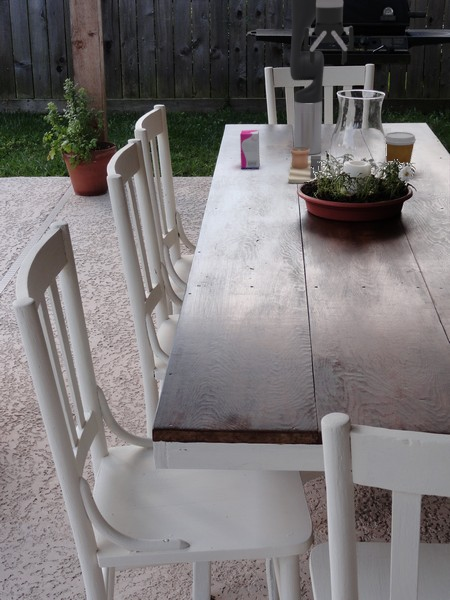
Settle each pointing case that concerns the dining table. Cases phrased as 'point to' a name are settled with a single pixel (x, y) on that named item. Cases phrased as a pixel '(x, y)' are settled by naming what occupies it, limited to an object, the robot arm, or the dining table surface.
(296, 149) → the terracotta pot
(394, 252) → the dining table surface
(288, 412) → the dining table surface
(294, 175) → the birch board
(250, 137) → the supplement box
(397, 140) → the disposable coffee cup
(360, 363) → the dining table surface
